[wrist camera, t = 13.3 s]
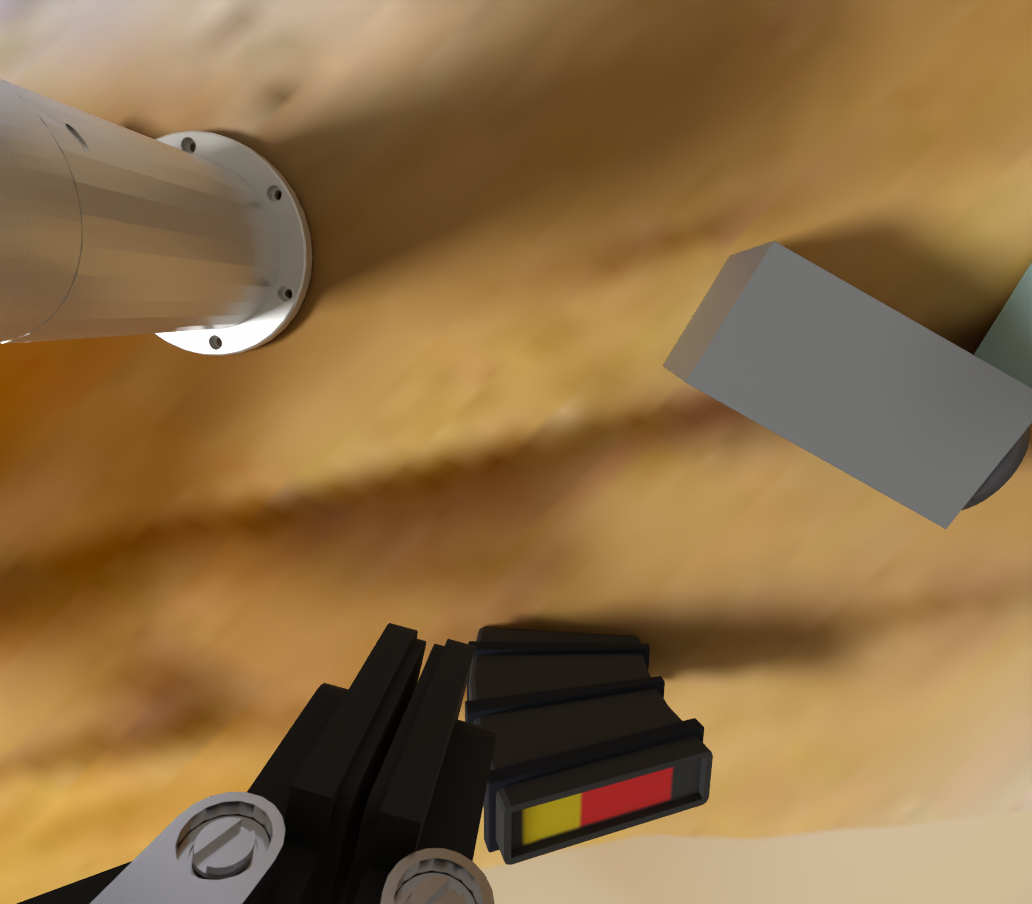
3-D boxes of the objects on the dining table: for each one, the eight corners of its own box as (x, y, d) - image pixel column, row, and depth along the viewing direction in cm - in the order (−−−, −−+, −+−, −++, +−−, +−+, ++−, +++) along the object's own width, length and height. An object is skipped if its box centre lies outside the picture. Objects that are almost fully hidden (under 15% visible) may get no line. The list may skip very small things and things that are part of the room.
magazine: (425, 630, 40) (496, 803, 26) (606, 600, 44) (749, 734, 30) (427, 681, 40) (496, 875, 27) (604, 646, 45) (742, 797, 31)
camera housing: (662, 365, 36) (685, 382, 28) (731, 253, 34) (776, 237, 26) (884, 491, 36) (967, 541, 28) (964, 386, 34) (1076, 409, 27)
